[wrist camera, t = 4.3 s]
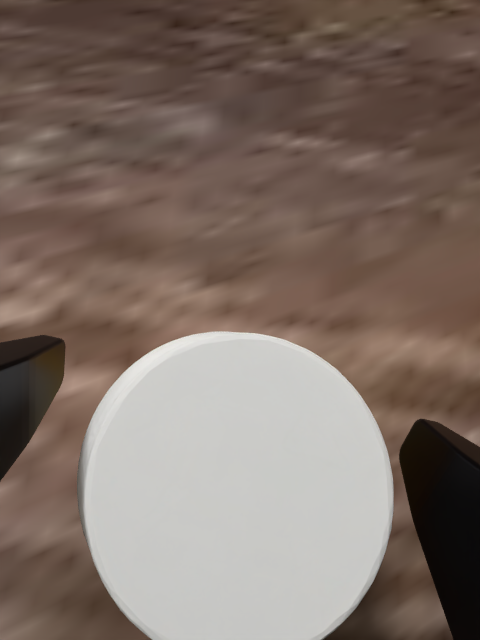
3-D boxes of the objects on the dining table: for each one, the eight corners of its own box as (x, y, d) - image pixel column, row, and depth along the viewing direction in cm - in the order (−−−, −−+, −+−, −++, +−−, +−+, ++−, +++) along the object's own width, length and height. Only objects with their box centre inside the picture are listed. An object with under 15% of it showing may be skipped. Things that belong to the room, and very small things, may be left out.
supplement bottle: (299, 401, 16) (469, 339, 6) (264, 565, 14) (423, 800, 5) (153, 360, 15) (108, 234, 6) (101, 523, 14) (-67, 684, 5)
